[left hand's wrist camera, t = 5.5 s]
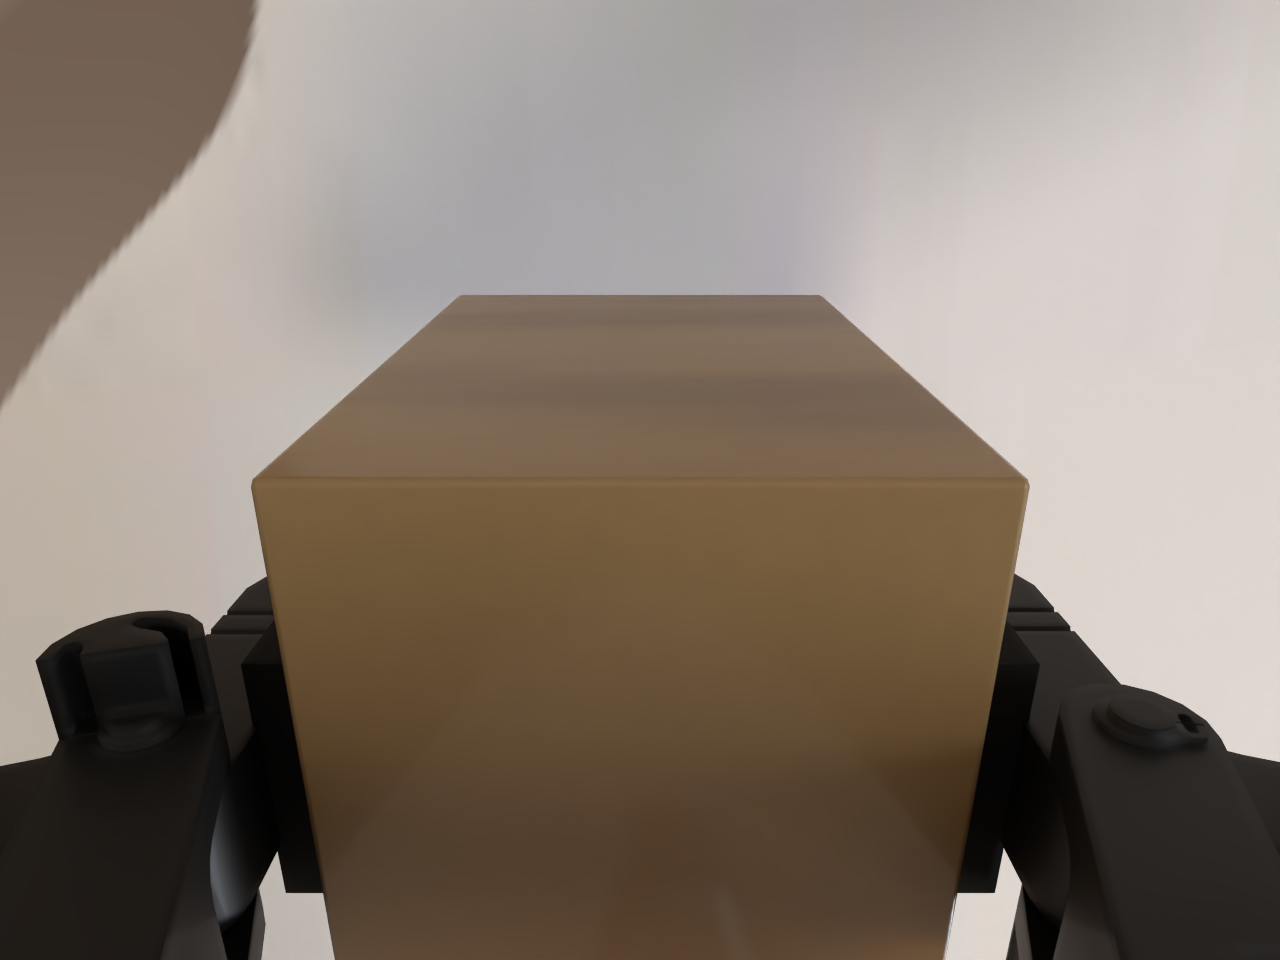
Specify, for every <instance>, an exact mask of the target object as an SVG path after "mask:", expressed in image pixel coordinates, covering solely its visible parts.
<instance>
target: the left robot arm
mask: <svg viewBox="0 0 1280 960" xmlns="http://www.w3.org/2000/svg"><path fill="white" fill-rule="evenodd" d="M36 664H37V668H38V671H39V674H40V678H41V681H42V684H43V688H44V691H45V694H46V698H47V701H48V704H49V708H50V711H51V714H52V718H53V721H54V724H55V728H56V731H57V734H58V738H59V741H58V743H57V745H56V747H55V749H54V751H53V753H52V755H51V756H47V757H43V758H39V759H35V760H29V761H24V762H19V763H14V764H9V765H4V766H0V960H261V957H262V949H263V941H264V933H265V918H264V911H263V905H262V900H261V896H260V891H259V886H260V884H261V882H262V880H263V878H264V876H265V874H266V872H267V870H268V868H269V867H270V865H271V863H272V861H273V859H274V857H275V855H276V853H277V851H278V855H279V860H280V865H281V870H282V875H283V881H284V886H285V891H286V893H323V889H322V884H321V878H320V872H319V867H318V861H317V855H316V850H315V844H314V838H313V833H312V827H311V822H310V816H309V810H308V805H307V799H306V793H305V788H304V782H303V776H302V771H301V765H300V760H299V754H298V748H297V743H296V737H295V731H294V726H293V720H292V715H291V709H290V703H289V698H288V692H287V686H286V681H285V675H284V669H283V664H282V658H281V653H280V647H279V641H278V636H277V630H276V624H275V619H274V613H273V607H272V602H271V596H270V591H269V585H268V579H267V577H265V578H263V579H262V580H260V581H258V582H257V583H255V584H253V585H252V586H250V587H248V588H247V589H246V590H245V591H244V592H243V593H242V594H241V596H240V597H239V598H238V599H237V600H236V601H235V603H234V604H233V605H232V606H231V607H230V608H229V609H228V611H227V615H223V616H222V618H221V619H220V620H219V621H218V622H217V623H216V624H215V626H214V627H213V628H212V629H211V634H207V635H206V636H205V633H204V628H203V624H202V623H201V622H199V621H198V620H196V619H195V618H194V617H192V616H191V615H189V614H184V613H178V612H173V611H168V610H167V611H145V612H135V613H131V614H126V615H121V616H116V617H111V618H107V619H104V620H102V621H99V622H96V623H93V624H91V625H88V626H85V627H83V628H80V629H77V630H75V631H74V632H72V633H70V634H68V635H67V636H65V637H63V638H62V639H60V640H58V641H56V642H55V643H53V644H51V645H50V646H49V647H48V648H47V649H46V650H45V651H44V652H43V653H42V655H41V656H40V657H39V658H38V659H37V660H36ZM1003 848H1004V849H1005V851H1006V853H1007V855H1008V857H1009V859H1010V861H1011V863H1012V865H1013V867H1014V869H1015V871H1016V873H1017V874H1018V876H1019V878H1020V880H1021V882H1022V886H1021V891H1020V896H1019V900H1018V905H1017V910H1016V914H1015V919H1014V924H1013V929H1012V933H1011V938H1010V943H1009V947H1008V952H1007V957H1006V960H1280V762H1276V761H1271V760H1266V759H1261V758H1256V757H1251V756H1246V755H1241V754H1237V753H1233V752H1229V751H1227V750H1226V748H1225V746H1224V744H1223V742H1222V740H1221V738H1220V737H1219V736H1218V734H1217V733H1216V732H1215V731H1214V730H1213V728H1212V727H1211V726H1210V725H1209V723H1208V722H1207V721H1206V720H1204V719H1203V718H1202V717H1200V716H1199V715H1197V714H1196V713H1194V712H1193V711H1191V710H1190V709H1188V708H1187V707H1185V706H1184V705H1183V704H1180V703H1178V702H1176V701H1173V700H1171V699H1169V698H1166V697H1164V696H1162V695H1159V694H1157V693H1155V692H1152V691H1148V690H1143V689H1139V688H1135V687H1131V686H1127V685H1121V684H1120V683H1119V682H1118V681H1117V679H1116V678H1115V677H1114V676H1113V675H1112V674H1111V672H1110V671H1109V670H1108V669H1107V668H1106V667H1105V666H1104V664H1103V663H1102V662H1101V661H1100V660H1099V659H1098V658H1097V656H1096V655H1095V654H1094V653H1093V652H1092V651H1091V650H1090V648H1089V647H1088V646H1087V645H1086V644H1085V643H1084V642H1083V640H1082V639H1081V638H1080V637H1079V636H1078V635H1077V634H1076V632H1075V631H1070V626H1069V624H1068V623H1067V622H1066V621H1065V620H1064V619H1063V618H1062V616H1061V615H1060V614H1059V613H1058V612H1054V607H1053V606H1052V605H1051V604H1050V603H1049V602H1048V600H1047V599H1046V598H1045V597H1044V596H1043V595H1042V594H1041V592H1040V591H1039V590H1038V589H1037V588H1036V587H1035V586H1034V585H1033V584H1031V583H1030V582H1028V581H1026V580H1024V579H1023V578H1021V577H1019V576H1018V575H1016V574H1014V577H1013V583H1012V588H1011V594H1010V600H1009V605H1008V611H1007V616H1006V622H1005V628H1004V633H1003V639H1002V645H1001V650H1000V656H999V661H998V667H997V673H996V678H995V684H994V689H993V695H992V701H991V706H990V712H989V718H988V723H987V729H986V734H985V740H984V746H983V751H982V757H981V763H980V768H979V774H978V779H977V785H976V791H975V796H974V802H973V807H972V813H971V819H970V824H969V830H968V836H967V841H966V847H965V852H964V858H963V864H962V869H961V875H960V880H959V886H958V892H957V893H995V889H996V884H997V879H998V874H999V869H1000V864H1001V859H1002V853H1003Z"/></svg>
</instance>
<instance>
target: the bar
mask: <svg viewBox="0 0 1280 960" xmlns="http://www.w3.org/2000/svg"><path fill="white" fill-rule="evenodd" d="M251 489H252V495H253V500H254V506H255V512H256V517H257V523H258V529H259V534H260V540H261V546H262V551H263V557H264V562H265V568H266V574H267V579H268V585H269V591H270V596H271V602H272V607H273V613H274V619H275V624H276V630H277V636H278V641H279V647H280V653H281V658H282V664H283V669H284V675H285V681H286V686H287V692H288V698H289V703H290V709H291V715H292V720H293V726H294V731H295V737H296V743H297V748H298V754H299V760H300V765H301V771H302V776H303V782H304V788H305V793H306V799H307V805H308V810H309V816H310V822H311V827H312V833H313V838H314V844H315V850H316V855H317V861H318V867H319V872H320V878H321V884H322V889H323V895H324V900H325V906H326V912H327V917H328V923H329V929H330V934H331V940H332V945H333V951H334V957H335V960H945V959H946V954H947V948H948V942H949V937H950V931H951V925H952V920H953V914H954V909H955V903H956V897H957V892H958V886H959V880H960V875H961V869H962V864H963V858H964V852H965V847H966V841H967V836H968V830H969V824H970V819H971V813H972V807H973V802H974V796H975V791H976V785H977V779H978V774H979V768H980V763H981V757H982V751H983V746H984V740H985V734H986V729H987V723H988V718H989V712H990V706H991V701H992V695H993V689H994V684H995V678H996V673H997V667H998V661H999V656H1000V650H1001V645H1002V639H1003V633H1004V628H1005V622H1006V616H1007V611H1008V605H1009V600H1010V594H1011V588H1012V583H1013V577H1014V572H1015V566H1016V560H1017V555H1018V549H1019V543H1020V538H1021V532H1022V527H1023V521H1024V515H1025V510H1026V504H1027V498H1028V493H1029V483H1028V479H1027V478H1026V477H1024V476H1023V475H1022V474H1021V473H1020V472H1019V471H1018V470H1017V469H1015V468H1014V467H1013V466H1012V465H1011V464H1010V463H1009V462H1008V461H1006V460H1005V459H1004V458H1003V457H1002V456H1001V455H1000V454H999V453H997V452H996V451H995V450H994V449H993V448H992V447H991V446H990V445H988V444H987V443H986V442H985V441H984V440H983V439H982V438H981V437H980V436H978V435H977V434H976V433H975V432H974V431H973V430H972V429H971V428H969V427H968V426H967V425H966V424H965V423H964V422H963V421H962V420H960V419H959V418H958V417H957V416H956V415H955V414H954V413H953V412H951V411H950V410H949V409H948V408H947V407H946V406H945V405H944V404H942V403H941V402H940V401H939V400H938V399H937V398H936V397H935V396H933V395H932V394H931V393H930V392H929V391H928V390H927V389H926V388H924V387H923V386H922V385H921V384H920V383H919V382H918V381H917V380H915V379H914V378H913V377H912V376H911V375H910V374H909V373H908V372H906V371H905V370H904V369H903V368H902V367H901V366H900V365H899V364H898V363H896V362H895V361H894V360H893V359H892V358H891V357H890V356H889V355H887V354H886V353H885V352H884V351H883V350H882V349H881V348H880V347H878V346H877V345H876V344H875V343H874V342H873V341H872V340H871V339H869V338H868V337H867V336H866V335H865V334H864V333H863V332H862V331H860V330H859V329H858V328H857V327H856V326H855V325H854V324H853V323H851V322H850V321H849V320H848V319H847V318H846V317H845V316H844V315H842V314H841V313H840V312H839V311H838V310H837V309H836V308H835V307H833V306H832V305H831V304H830V303H829V302H828V301H827V300H826V299H824V298H823V297H822V296H820V295H461V296H459V297H458V298H456V299H455V300H454V301H453V302H452V303H451V304H450V305H449V306H447V307H446V308H445V309H444V310H443V311H442V312H441V313H440V314H438V315H437V316H436V317H435V318H434V319H433V320H432V321H431V322H429V323H428V324H427V325H426V326H425V327H424V328H423V329H421V330H420V331H419V332H418V333H417V334H416V335H415V336H414V337H412V338H411V339H410V340H409V341H408V342H407V343H406V344H405V345H403V346H402V347H401V348H400V349H399V350H398V351H397V352H396V353H394V354H393V355H392V356H391V357H390V358H389V359H388V360H387V361H385V362H384V363H383V364H382V365H381V366H380V367H379V368H378V369H376V370H375V371H374V372H373V373H372V374H371V375H370V376H369V377H367V378H366V379H365V380H364V381H363V382H362V383H361V384H360V385H358V386H357V387H356V388H355V389H354V390H353V391H352V392H351V393H349V394H348V395H347V396H346V397H345V398H344V399H343V400H341V401H340V402H339V403H338V404H337V405H336V406H335V407H334V408H332V409H331V410H330V411H329V412H328V413H327V414H326V415H325V416H323V417H322V418H321V419H320V420H319V421H318V422H317V423H316V424H314V425H313V426H312V427H311V428H310V429H309V430H308V431H307V432H305V433H304V434H303V435H302V436H301V437H300V438H299V439H298V440H296V441H295V442H294V443H293V444H292V445H291V446H290V447H289V448H287V449H286V450H285V451H284V452H283V453H282V454H281V455H280V456H278V457H277V458H276V459H275V460H274V461H273V462H272V463H271V464H269V465H268V466H267V467H266V468H265V469H264V470H263V471H261V472H260V473H259V474H258V475H257V476H256V477H255V478H254V479H253V481H252V485H251Z"/></svg>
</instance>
